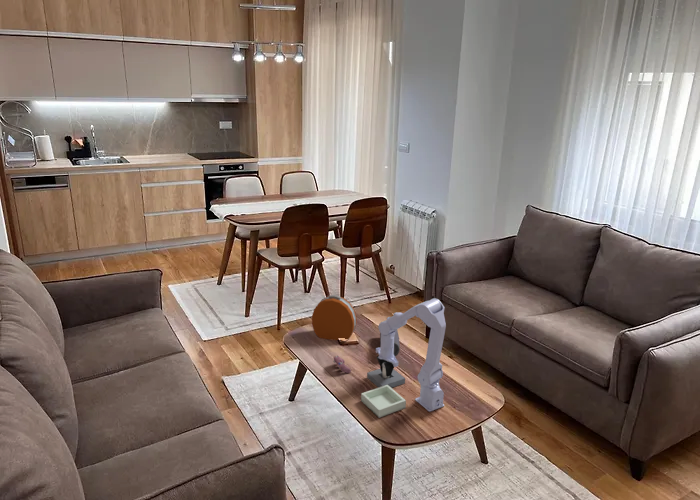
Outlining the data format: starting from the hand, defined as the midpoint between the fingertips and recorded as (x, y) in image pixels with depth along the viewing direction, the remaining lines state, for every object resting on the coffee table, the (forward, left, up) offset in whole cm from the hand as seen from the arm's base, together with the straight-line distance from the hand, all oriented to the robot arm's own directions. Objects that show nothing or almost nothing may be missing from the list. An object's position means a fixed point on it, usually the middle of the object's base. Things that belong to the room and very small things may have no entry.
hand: (386, 373), depth 219 cm
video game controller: (+18, +12, -4) cm, 22 cm away
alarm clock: (+48, -1, -4) cm, 48 cm away
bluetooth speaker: (+23, -18, -4) cm, 29 cm away
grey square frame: (0, 0, -3) cm, 3 cm away
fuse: (0, 0, -3) cm, 3 cm away
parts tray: (-14, +11, -3) cm, 18 cm away
